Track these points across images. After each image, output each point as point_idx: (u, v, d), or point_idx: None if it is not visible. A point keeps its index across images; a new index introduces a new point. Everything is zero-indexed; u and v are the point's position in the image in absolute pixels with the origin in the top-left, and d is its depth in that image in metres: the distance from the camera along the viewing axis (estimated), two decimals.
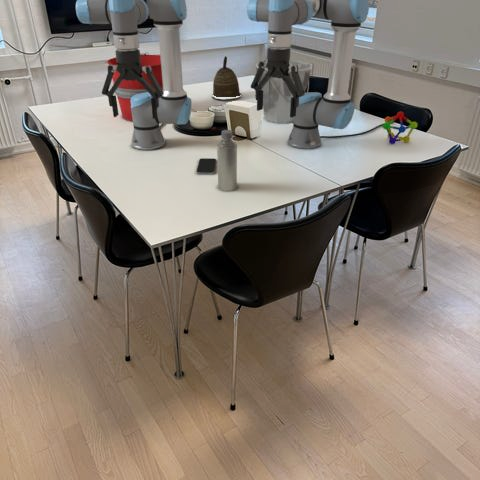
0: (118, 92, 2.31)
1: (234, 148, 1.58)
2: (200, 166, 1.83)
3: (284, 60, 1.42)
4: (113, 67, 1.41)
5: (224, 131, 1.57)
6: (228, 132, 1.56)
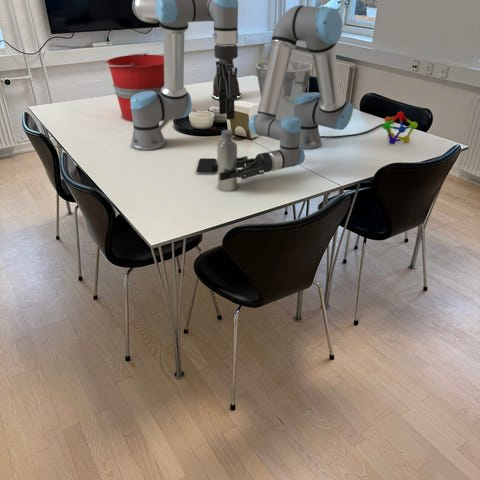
0: (118, 92, 2.31)
1: (234, 148, 1.58)
2: (200, 166, 1.83)
3: None
4: (219, 62, 1.49)
5: (224, 131, 1.57)
6: (228, 132, 1.56)
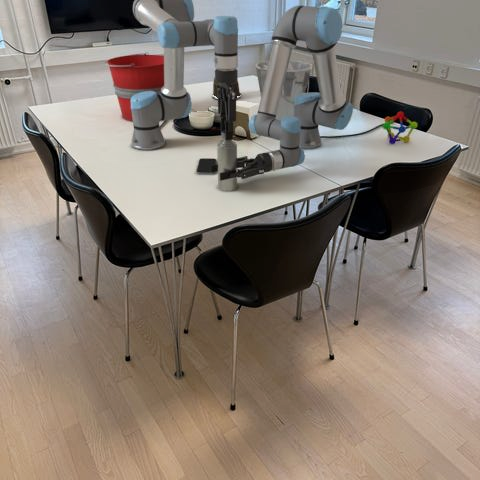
0: (118, 92, 2.31)
1: (234, 148, 1.58)
2: (200, 166, 1.83)
3: None
4: (220, 86, 1.53)
5: (224, 131, 1.57)
6: None
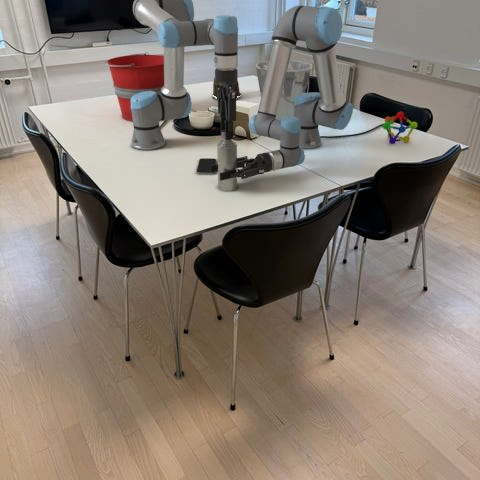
0: (118, 92, 2.31)
1: (234, 148, 1.58)
2: (200, 166, 1.83)
3: None
4: (219, 85, 1.53)
5: None
6: None
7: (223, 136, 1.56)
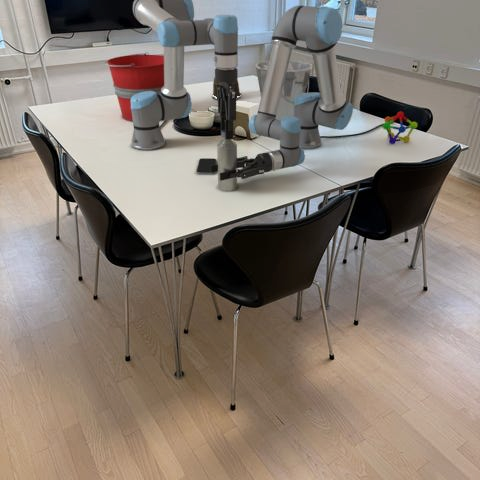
0: (118, 92, 2.31)
1: (234, 148, 1.58)
2: (200, 166, 1.83)
3: None
4: (219, 85, 1.53)
5: None
6: (224, 131, 1.56)
7: None
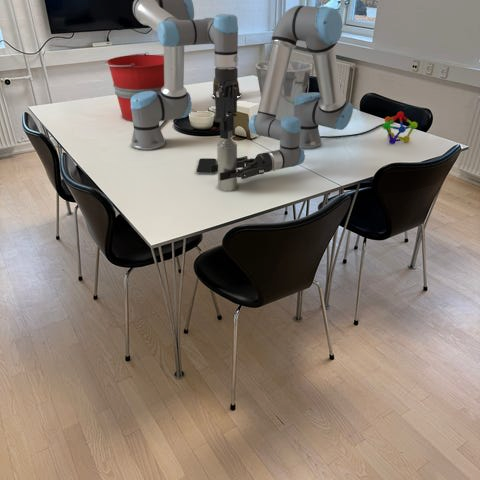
0: (118, 92, 2.31)
1: (234, 148, 1.58)
2: (200, 166, 1.83)
3: None
4: (220, 91, 1.45)
5: None
6: (229, 130, 1.56)
7: None
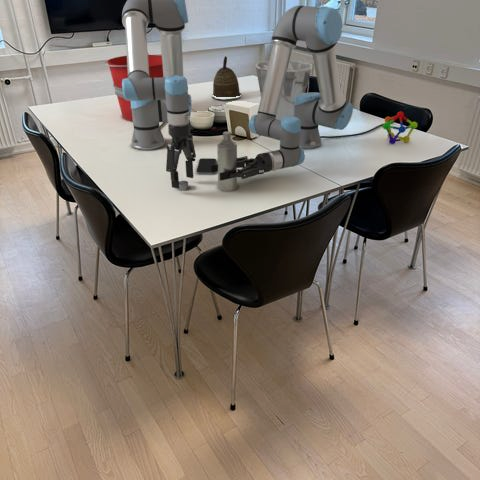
0: (118, 92, 2.31)
1: (234, 148, 1.58)
2: (200, 166, 1.83)
3: None
4: (173, 144, 1.53)
5: (180, 183, 1.66)
6: (185, 183, 1.66)
7: None
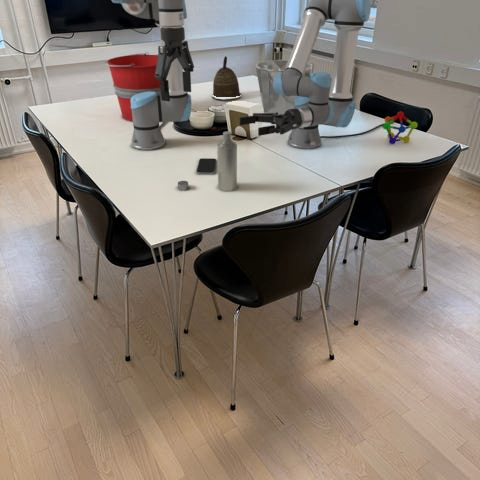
0: (118, 92, 2.31)
1: (234, 148, 1.58)
2: (200, 166, 1.83)
3: None
4: None
5: (180, 183, 1.66)
6: (185, 183, 1.66)
7: None
